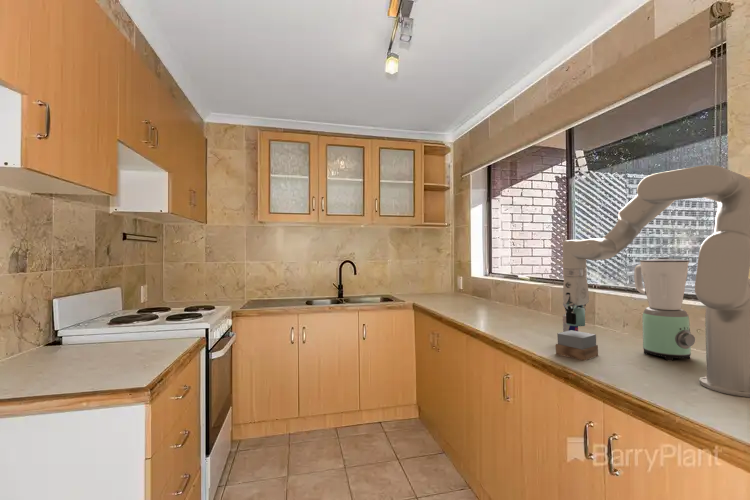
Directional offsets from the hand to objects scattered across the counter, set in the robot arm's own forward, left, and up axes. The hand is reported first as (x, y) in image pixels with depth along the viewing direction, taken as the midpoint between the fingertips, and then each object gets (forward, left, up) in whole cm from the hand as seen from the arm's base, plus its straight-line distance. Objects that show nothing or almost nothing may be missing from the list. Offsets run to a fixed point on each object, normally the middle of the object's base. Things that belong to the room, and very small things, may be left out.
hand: (575, 322), depth 127 cm
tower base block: (0, 0, -12) cm, 12 cm away
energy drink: (+8, -12, -12) cm, 19 cm away
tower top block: (0, 0, -8) cm, 8 cm away
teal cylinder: (0, 0, -1) cm, 1 cm away
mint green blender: (-19, -23, -12) cm, 32 cm away
